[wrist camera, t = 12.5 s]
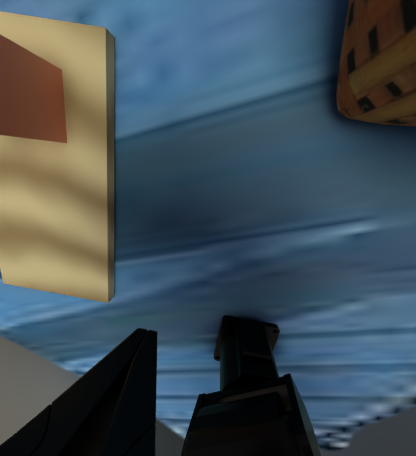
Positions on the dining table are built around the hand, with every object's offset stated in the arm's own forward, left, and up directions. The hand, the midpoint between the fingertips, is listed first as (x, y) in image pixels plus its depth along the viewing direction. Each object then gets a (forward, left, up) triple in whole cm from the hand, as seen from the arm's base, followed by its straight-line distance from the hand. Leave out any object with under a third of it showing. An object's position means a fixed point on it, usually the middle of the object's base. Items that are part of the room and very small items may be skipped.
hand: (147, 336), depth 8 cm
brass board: (+3, +14, -12) cm, 19 cm away
